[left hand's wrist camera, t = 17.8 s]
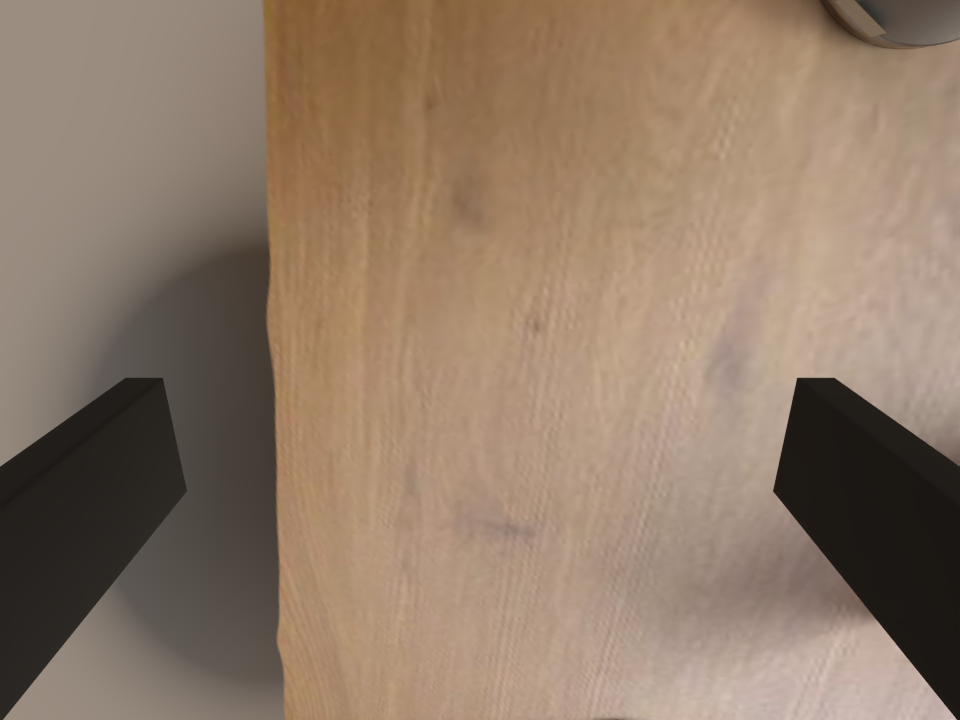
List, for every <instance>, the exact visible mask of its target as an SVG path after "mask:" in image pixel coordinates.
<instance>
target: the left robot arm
mask: <svg viewBox="0 0 960 720" xmlns="http://www.w3.org/2000/svg"><path fill="white" fill-rule="evenodd" d="M822 1H823V3H824V5H825V6H826V8H827V9H828V11H829V12H830V14H831V15H832V16H833V17H834V18H835V20H836V21H837V22H838V23H839V24H840V25H841V26H842V27H843V28H845V29H846V30H847V31H849V32H850V33H851V34H853V35H854V36H856V37H858V38H860V39H861V40H863V41H866V42H868V43H871V44H873V45H877V46H881V47H885V48H893V49H913V48H921V47H927V46H933V45H938V44H943V43H948V42H952V41H955V40H958V39H960V0H822ZM186 492H187V490H186V485H185V480H184V475H183V471H182V466H181V461H180V457H179V452H178V447H177V443H176V438H175V433H174V429H173V424H172V419H171V414H170V410H169V405H168V400H167V396H166V391H165V386H164V382H163V378H125V379H123V380H122V381H121V382H119V383H118V384H116V385H115V386H114V387H112V388H111V389H109V390H108V391H106V392H105V393H104V394H102V395H101V396H99V397H98V398H97V399H95V400H94V401H92V402H91V403H90V404H88V405H87V406H85V407H84V408H83V409H81V410H80V411H78V412H77V413H75V414H74V415H73V416H71V417H70V418H68V419H67V420H66V421H64V422H63V423H61V424H60V425H59V426H57V427H56V428H54V429H53V430H51V431H50V432H49V433H47V434H46V435H44V436H43V437H42V438H40V439H39V440H37V441H36V442H34V443H33V444H32V445H30V446H29V447H27V448H26V449H25V450H23V451H22V452H20V453H19V454H18V455H16V456H15V457H13V458H12V459H10V460H9V461H8V462H6V463H5V464H3V465H2V466H1V467H0V720H3V719H4V718H5V716H6V715H7V714H8V713H9V711H10V710H11V709H12V708H13V706H14V705H15V704H16V703H17V702H18V700H19V699H20V698H21V696H22V695H23V694H24V693H25V692H26V690H27V689H28V688H29V687H30V685H31V684H32V683H33V682H34V680H35V679H36V678H37V677H38V675H39V674H40V673H41V672H42V670H43V669H44V668H45V667H46V666H47V664H48V663H49V662H50V661H51V659H52V658H53V657H54V656H55V654H56V653H57V652H58V651H59V649H60V648H61V647H62V646H63V644H64V643H65V642H66V641H67V639H68V638H69V637H70V636H71V634H72V633H73V632H74V631H75V629H76V628H77V627H78V626H79V624H80V623H81V622H82V621H83V620H84V618H85V617H86V616H87V615H88V613H89V612H90V611H91V610H92V608H93V607H94V606H95V605H96V603H97V602H98V601H99V600H100V598H101V597H102V596H103V595H104V593H105V592H106V591H107V590H108V588H109V587H110V586H111V585H112V584H113V582H114V581H115V580H116V579H117V577H118V576H119V575H120V574H121V572H122V571H123V570H124V569H125V567H126V566H127V565H128V564H129V562H130V561H131V560H132V559H133V557H134V556H135V555H136V554H137V552H138V551H139V550H140V549H141V547H142V546H143V545H144V544H145V543H146V541H147V540H148V539H149V537H150V536H151V535H152V534H153V533H154V531H155V530H156V529H157V528H158V526H159V525H160V524H161V523H162V521H163V520H164V519H165V518H166V516H167V515H168V514H169V513H170V511H171V510H172V509H173V508H174V506H175V505H176V504H177V503H178V502H179V500H180V499H181V498H182V497H183V495H184V494H185V493H186ZM773 492H774V493H775V494H776V495H777V497H778V498H779V499H780V500H781V502H782V503H783V504H784V505H785V506H786V508H787V509H788V510H789V511H790V513H791V514H792V515H793V516H794V518H795V519H796V520H797V521H798V523H799V524H800V525H801V526H802V528H803V529H804V530H805V531H806V533H807V534H808V535H809V536H810V538H811V539H812V540H813V541H814V543H815V544H816V545H817V546H818V547H819V549H820V550H821V551H822V552H823V554H824V555H825V556H826V557H827V559H828V560H829V561H830V562H831V564H832V565H833V566H834V567H835V569H836V570H837V571H838V572H839V574H840V575H841V576H842V577H843V579H844V580H845V581H846V582H847V584H848V585H849V586H850V587H851V588H852V590H853V591H854V592H855V593H856V595H857V596H858V597H859V598H860V600H861V601H862V602H863V603H864V605H865V606H866V607H867V608H868V610H869V611H870V612H871V613H872V615H873V616H874V617H875V618H876V620H877V621H878V622H879V623H880V625H881V626H882V627H883V628H884V629H885V631H886V632H887V633H888V634H889V636H890V637H891V638H892V639H893V641H894V642H895V643H896V644H897V646H898V647H899V648H900V649H901V651H902V652H903V653H904V654H905V656H906V657H907V658H908V659H909V661H910V662H911V663H912V664H913V666H914V667H915V668H916V669H917V670H918V672H919V673H920V674H921V675H922V677H923V678H924V679H925V680H926V682H927V683H928V684H929V685H930V687H931V688H932V689H933V690H934V692H935V693H936V694H937V695H938V697H939V698H940V699H941V700H942V702H943V703H944V704H945V705H946V707H947V708H948V709H949V710H950V711H951V713H952V714H953V715H954V716H955V718H956V719H957V720H960V467H959V466H958V465H957V464H955V463H954V462H952V461H951V460H950V459H948V458H947V457H945V456H944V455H942V454H941V453H940V452H938V451H937V450H935V449H934V448H933V447H931V446H930V445H928V444H927V443H926V442H924V441H923V440H921V439H920V438H918V437H917V436H916V435H914V434H913V433H911V432H910V431H909V430H907V429H906V428H904V427H903V426H902V425H900V424H899V423H897V422H896V421H894V420H893V419H892V418H890V417H889V416H887V415H886V414H885V413H883V412H882V411H880V410H879V409H878V408H876V407H875V406H873V405H872V404H870V403H869V402H868V401H866V400H865V399H863V398H862V397H861V396H859V395H858V394H856V393H855V392H854V391H852V390H851V389H849V388H848V387H846V386H845V385H844V384H842V383H841V382H839V381H838V380H837V379H835V378H797V382H796V386H795V391H794V396H793V400H792V405H791V410H790V414H789V419H788V424H787V429H786V433H785V438H784V443H783V447H782V452H781V457H780V461H779V466H778V471H777V475H776V480H775V485H774V490H773Z"/></svg>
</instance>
